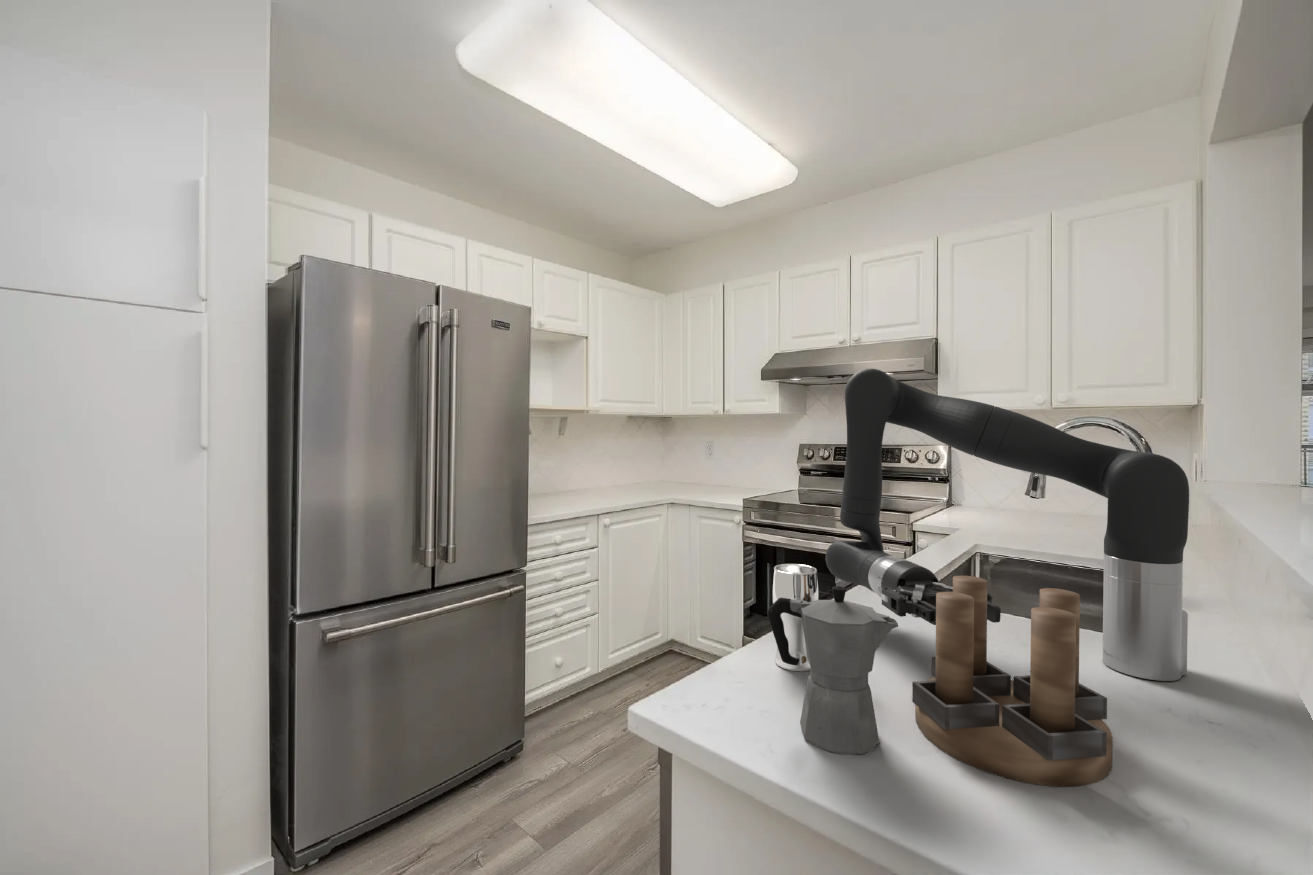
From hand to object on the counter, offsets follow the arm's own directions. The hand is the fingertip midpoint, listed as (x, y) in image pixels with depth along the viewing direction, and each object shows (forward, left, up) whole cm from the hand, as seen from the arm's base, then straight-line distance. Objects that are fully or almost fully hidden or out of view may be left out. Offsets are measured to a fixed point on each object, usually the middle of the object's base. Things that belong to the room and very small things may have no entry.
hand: (968, 616), depth 76 cm
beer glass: (+18, -16, -12) cm, 27 cm away
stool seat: (0, +7, -12) cm, 14 cm away
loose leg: (0, 0, -9) cm, 9 cm away
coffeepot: (+21, +4, -12) cm, 25 cm away
